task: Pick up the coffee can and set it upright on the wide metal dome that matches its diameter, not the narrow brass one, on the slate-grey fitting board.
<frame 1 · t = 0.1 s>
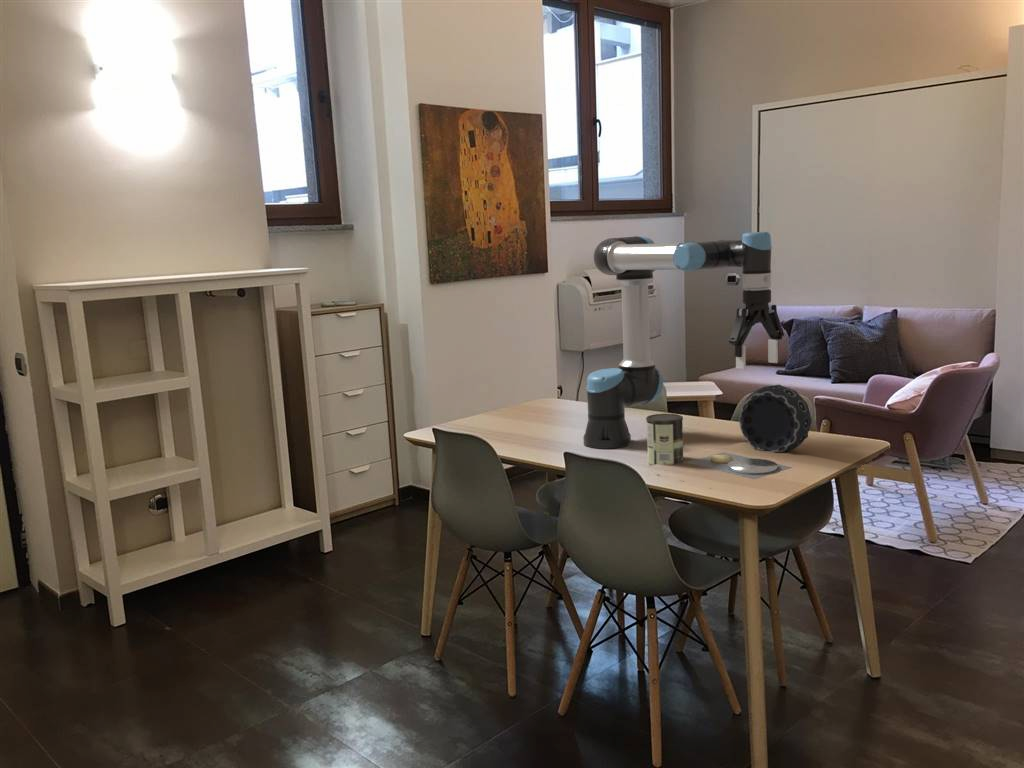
hand: (757, 365, 244), 28 cm above the table, fingers open, 13 cm apart
metal dome: (752, 468, 238), resting on fitting board
fitting board: (738, 470, 242), on the table
coffee can: (665, 465, 251), on the table
dark patterned bowl: (774, 453, 259), on the table
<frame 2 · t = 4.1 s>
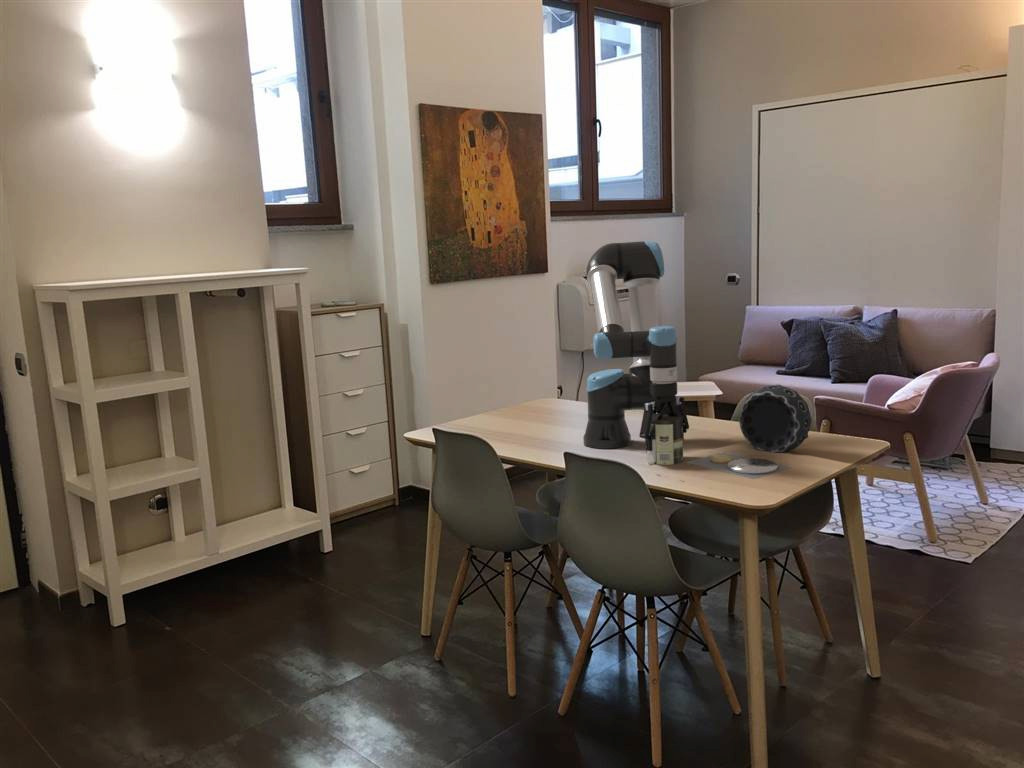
hand: (665, 457, 251), 2 cm above the table, fingers closed on coffee can, 10 cm apart
coffee can: (665, 465, 251), on the table, touching gripper
everything else where it was.
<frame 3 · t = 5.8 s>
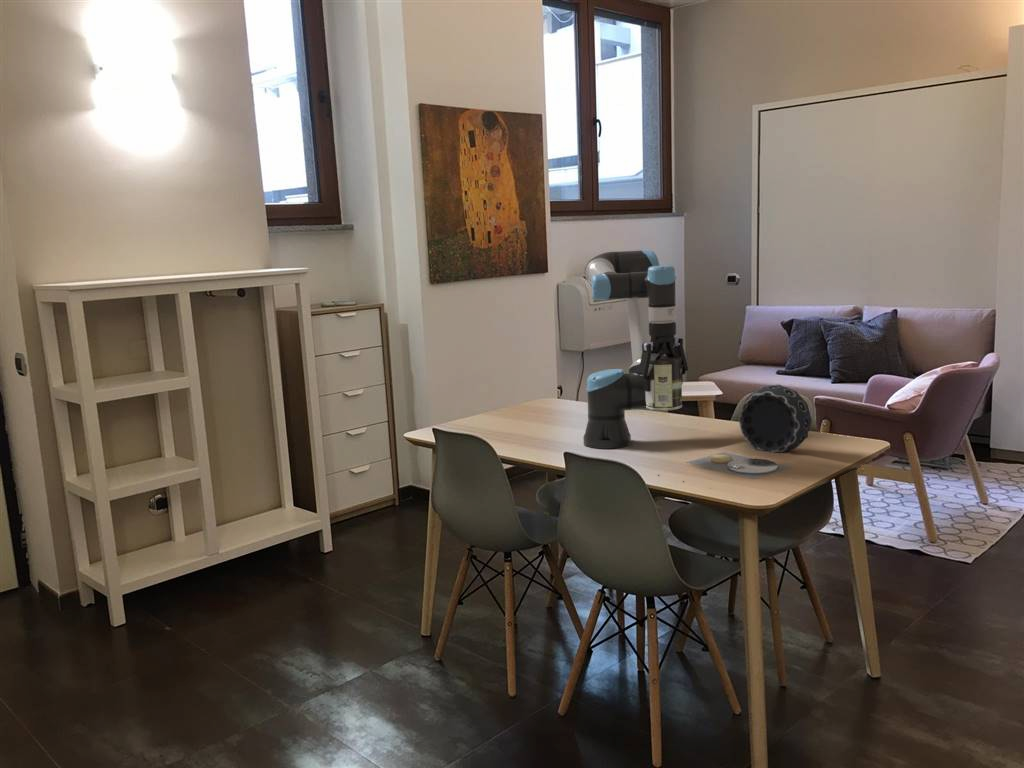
hand: (663, 399, 248), 19 cm above the table, fingers closed on coffee can, 10 cm apart
coffee can: (663, 407, 249), point 17 cm above the table, touching gripper
everything else where it was.
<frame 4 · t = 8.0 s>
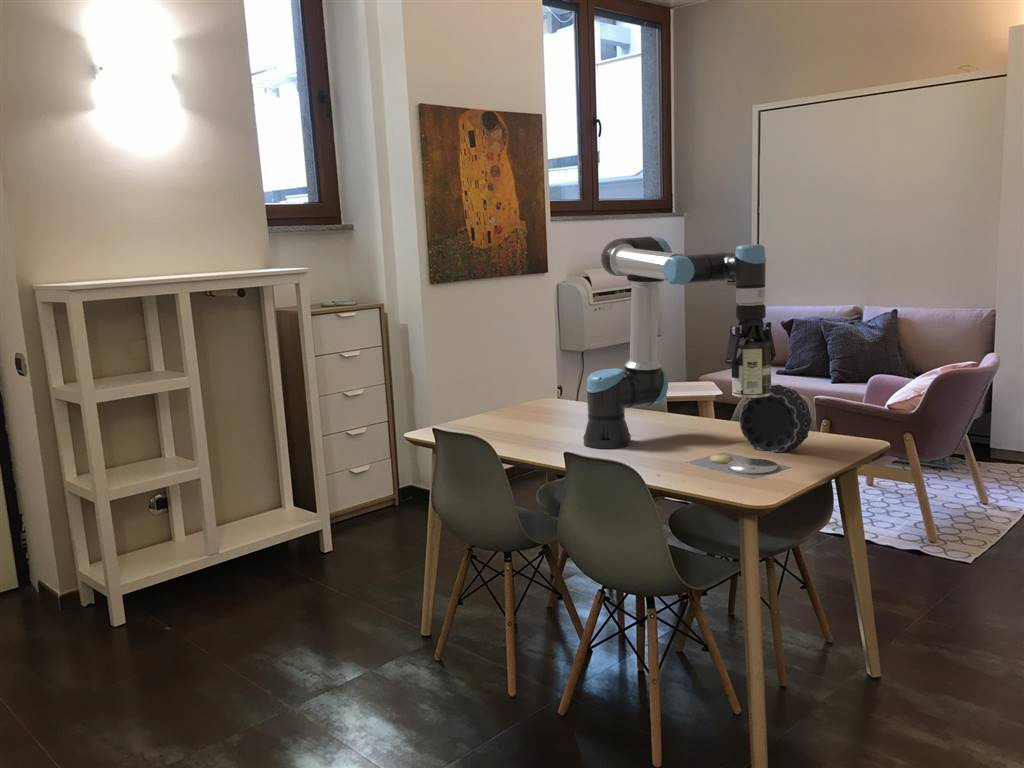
hand: (751, 387, 234), 24 cm above the table, fingers closed on coffee can, 10 cm apart
coffee can: (751, 395, 235), point 22 cm above the table, touching gripper
everything else where it was.
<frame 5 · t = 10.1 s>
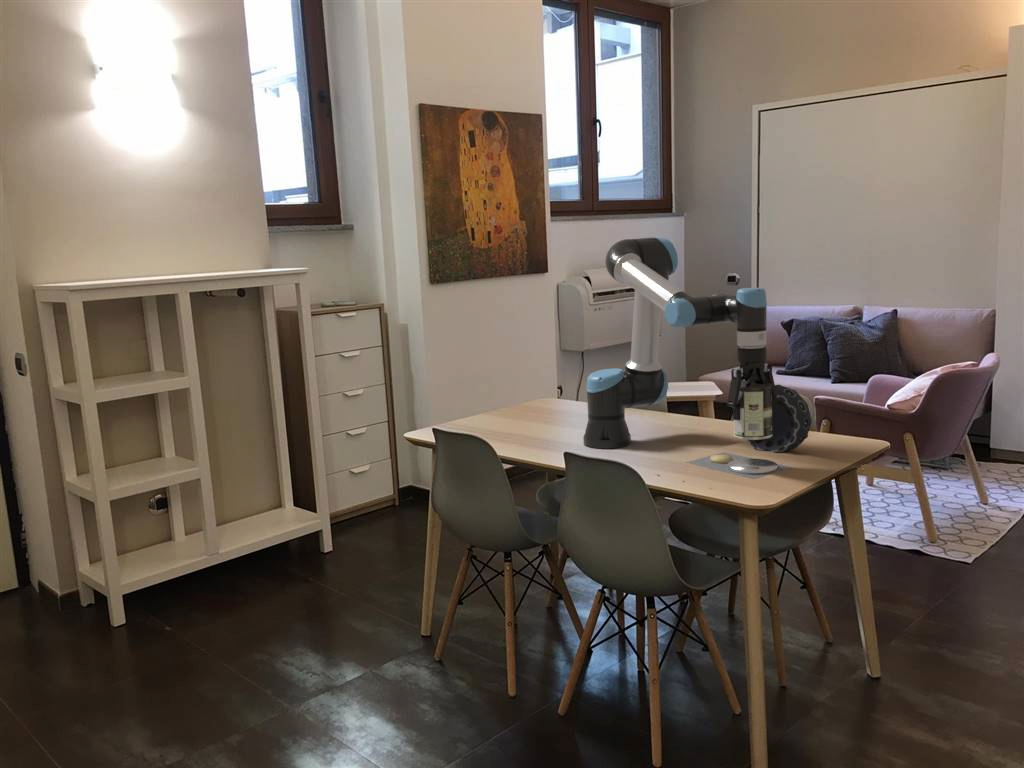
hand: (752, 428, 236), 13 cm above the table, fingers closed on coffee can, 10 cm apart
coffee can: (752, 436, 236), point 10 cm above the table, touching gripper
everything else where it was.
when the fingers open (6 cm above the table, at t = 12.0 s): coffee can drops 1 cm, resting on metal dome.
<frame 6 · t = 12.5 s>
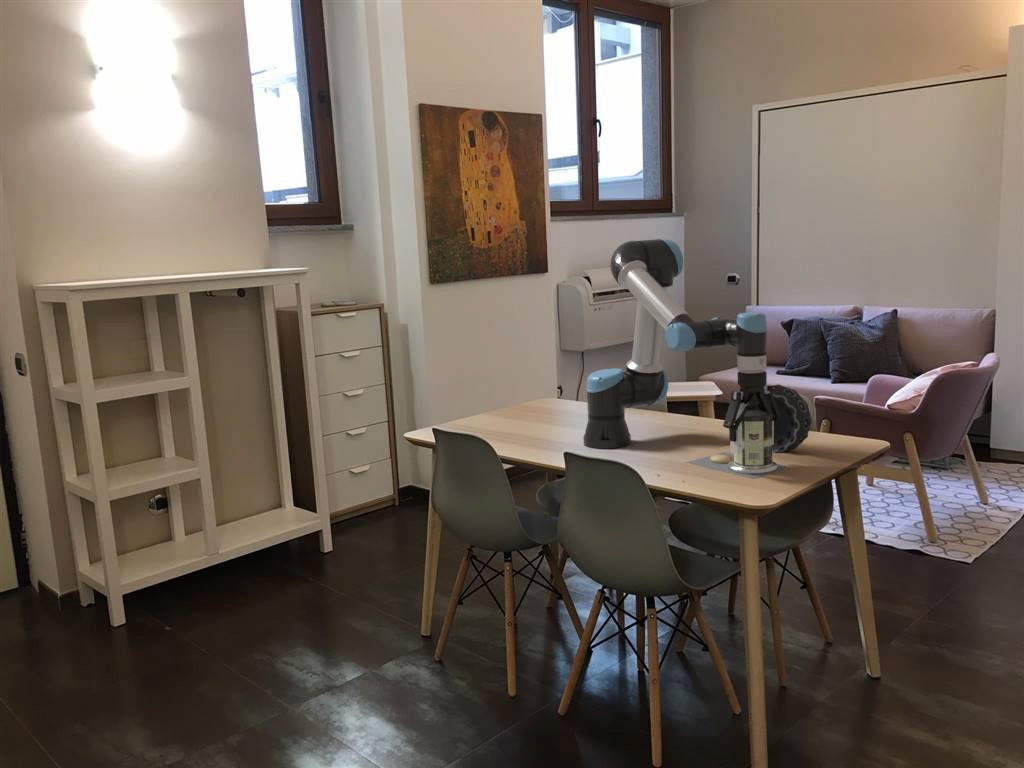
hand: (752, 448, 237), 7 cm above the table, fingers open, 13 cm apart
coffee can: (752, 465, 238), point 2 cm above the table, touching metal dome
everything else where it was.
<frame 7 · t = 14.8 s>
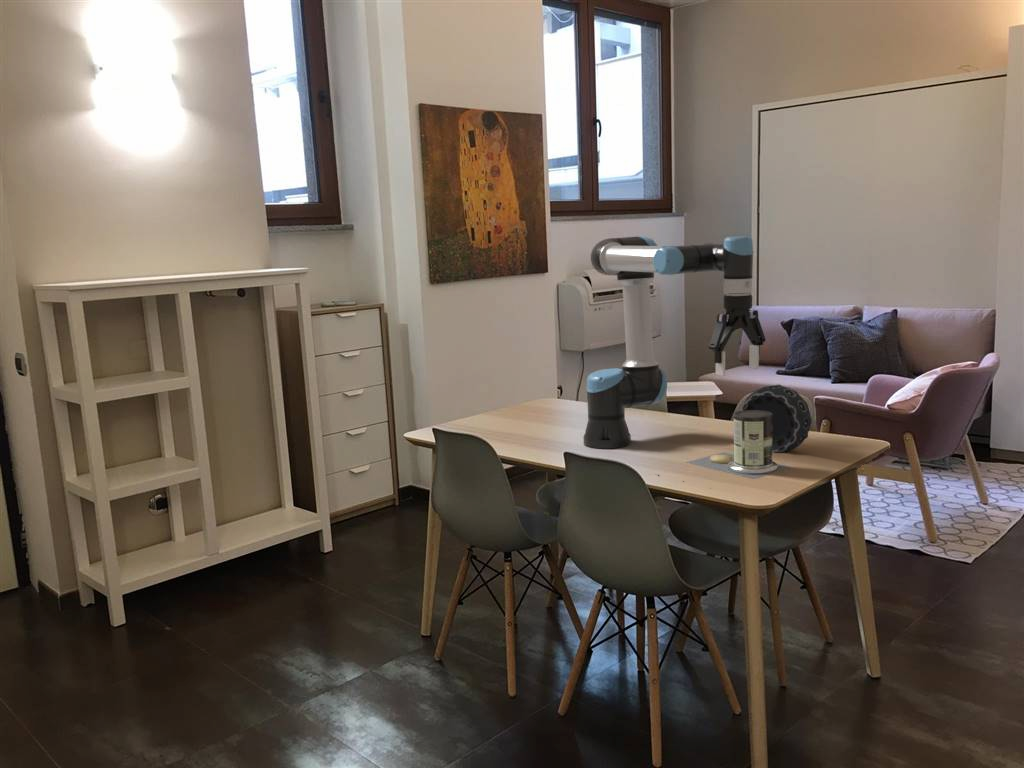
hand: (737, 371, 241), 27 cm above the table, fingers open, 13 cm apart
nothing on the table moved.
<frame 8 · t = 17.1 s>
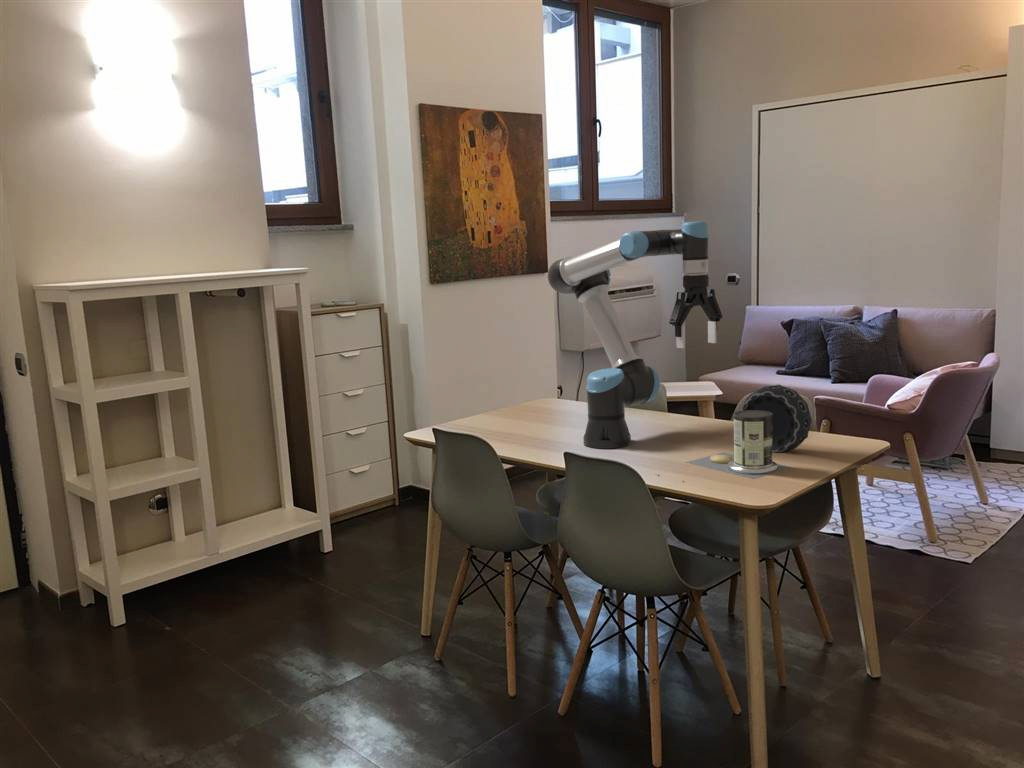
hand: (696, 345, 263), 32 cm above the table, fingers open, 13 cm apart
nothing on the table moved.
at the end: coffee can 0.3 cm off-centre on the metal dome, point 0.8 cm above the metal dome's base; coffee can tilted 0°; the gripper is holding nothing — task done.
